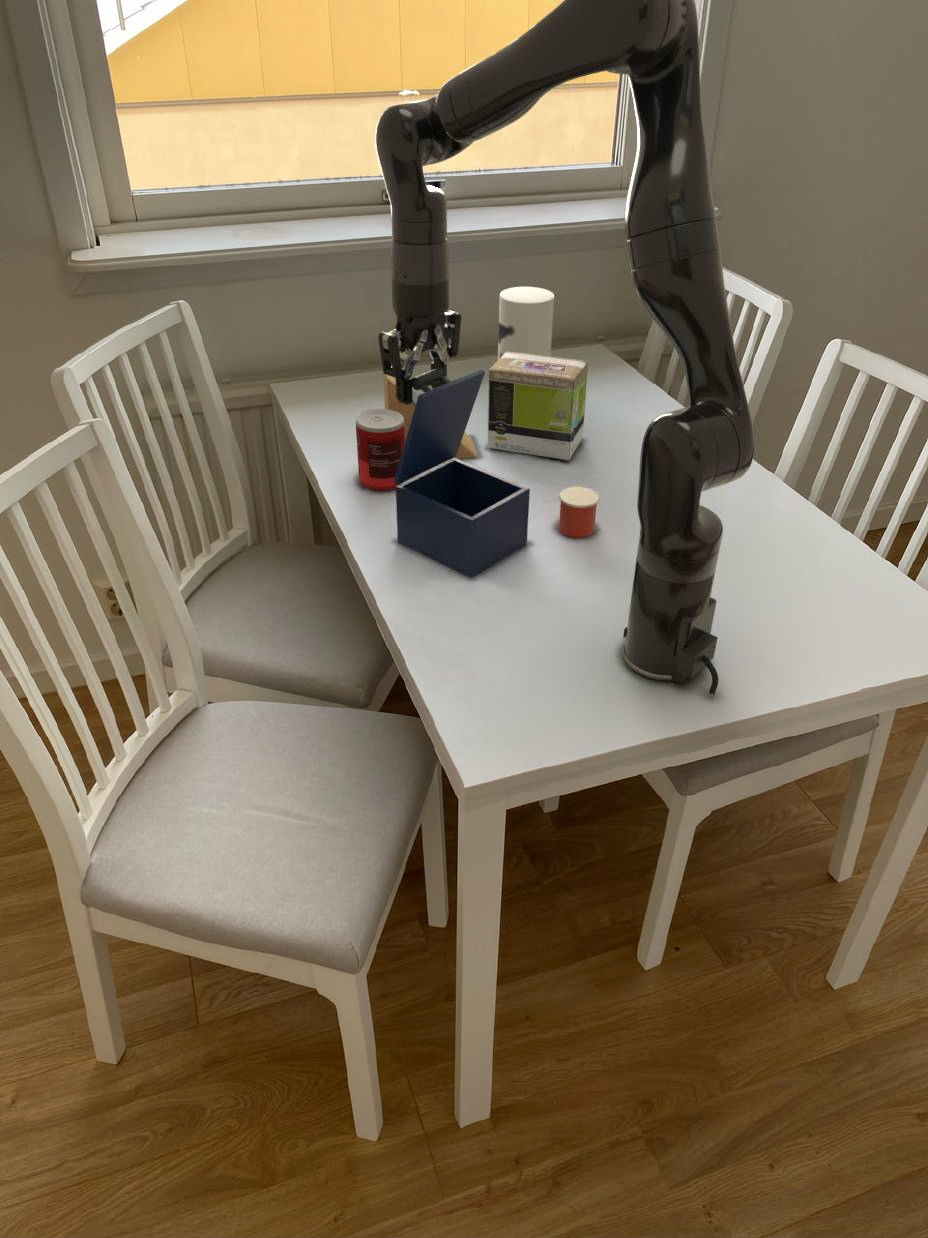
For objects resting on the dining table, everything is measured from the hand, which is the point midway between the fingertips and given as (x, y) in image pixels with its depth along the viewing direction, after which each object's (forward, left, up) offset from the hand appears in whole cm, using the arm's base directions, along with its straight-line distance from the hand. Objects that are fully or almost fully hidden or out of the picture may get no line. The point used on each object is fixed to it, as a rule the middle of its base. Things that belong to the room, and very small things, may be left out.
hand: (422, 395), depth 135 cm
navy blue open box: (-8, 0, -21) cm, 22 cm away
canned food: (+15, -6, -21) cm, 27 cm away
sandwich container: (+17, -20, -21) cm, 34 cm away
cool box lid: (-3, 0, -4) cm, 5 cm away
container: (+20, -49, -21) cm, 57 cm away
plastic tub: (-18, -15, -21) cm, 31 cm away
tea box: (+5, -34, -21) cm, 40 cm away
